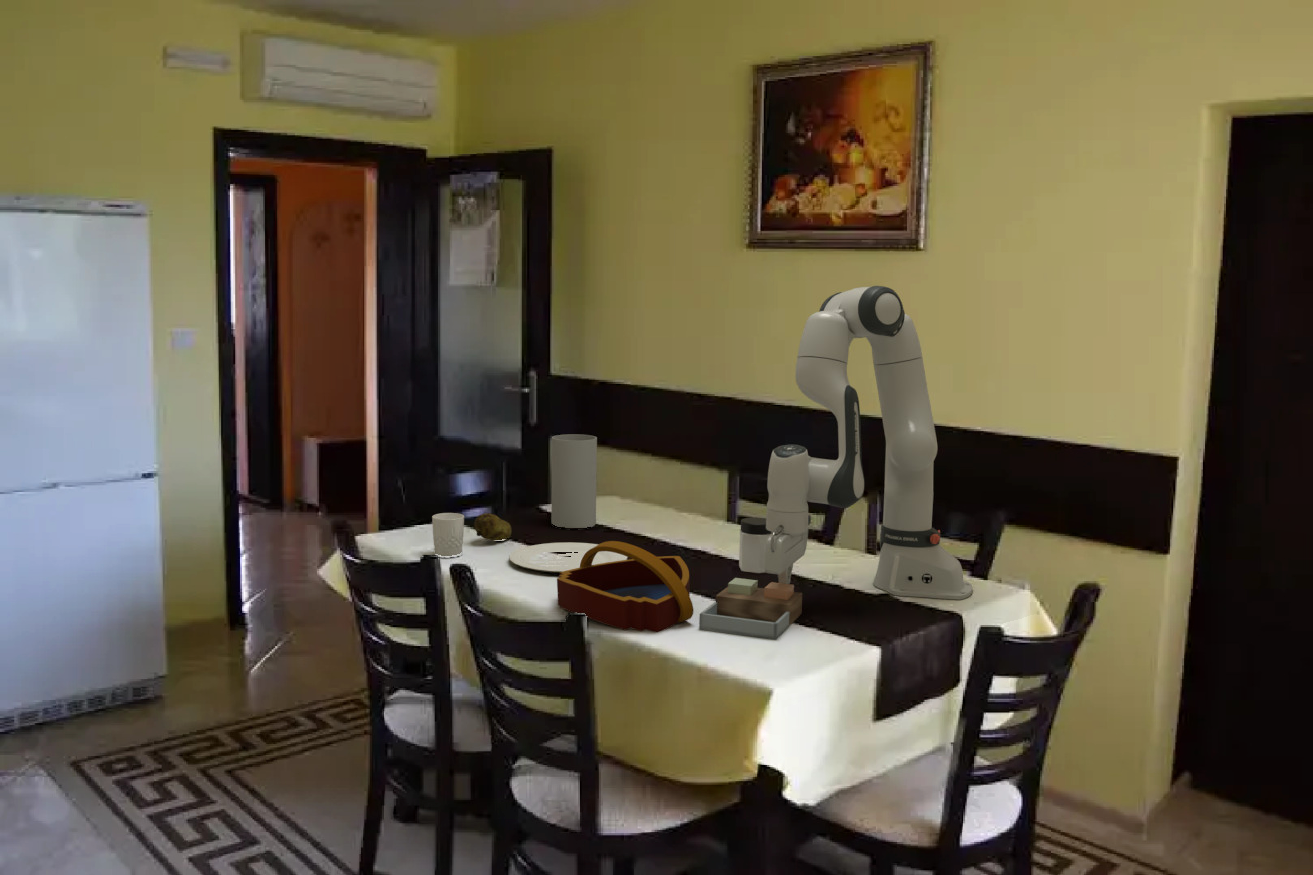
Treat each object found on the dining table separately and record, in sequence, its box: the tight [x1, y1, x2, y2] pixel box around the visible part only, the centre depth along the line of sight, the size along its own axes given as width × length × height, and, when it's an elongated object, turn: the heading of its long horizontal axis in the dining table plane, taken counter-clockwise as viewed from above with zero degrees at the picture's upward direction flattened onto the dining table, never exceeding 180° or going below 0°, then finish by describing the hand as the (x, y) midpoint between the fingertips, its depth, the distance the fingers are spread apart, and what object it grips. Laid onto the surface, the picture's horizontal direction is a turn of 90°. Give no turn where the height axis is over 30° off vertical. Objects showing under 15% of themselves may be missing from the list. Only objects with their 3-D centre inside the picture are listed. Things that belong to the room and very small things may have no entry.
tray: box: [698, 601, 790, 641], centre depth 241 cm, size 16×9×3 cm, turn 68°
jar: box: [738, 517, 772, 574], centre depth 288 cm, size 9×8×12 cm
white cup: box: [431, 512, 465, 556], centre depth 296 cm, size 8×8×10 cm
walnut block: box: [715, 586, 803, 627], centre depth 250 cm, size 16×10×4 cm, turn 68°
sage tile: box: [727, 577, 759, 595], centre depth 252 cm, size 5×5×2 cm
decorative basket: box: [556, 540, 694, 633], centre depth 253 cm, size 34×29×15 cm
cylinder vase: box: [550, 433, 598, 529], centre depth 332 cm, size 12×12×25 cm
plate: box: [508, 542, 629, 574], centre depth 292 cm, size 29×29×2 cm
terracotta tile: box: [763, 581, 795, 600], centre depth 249 cm, size 5×5×2 cm
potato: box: [474, 512, 512, 541], centre depth 312 cm, size 8×13×8 cm, turn 137°
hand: (784, 584), depth 254 cm, fingers closed
